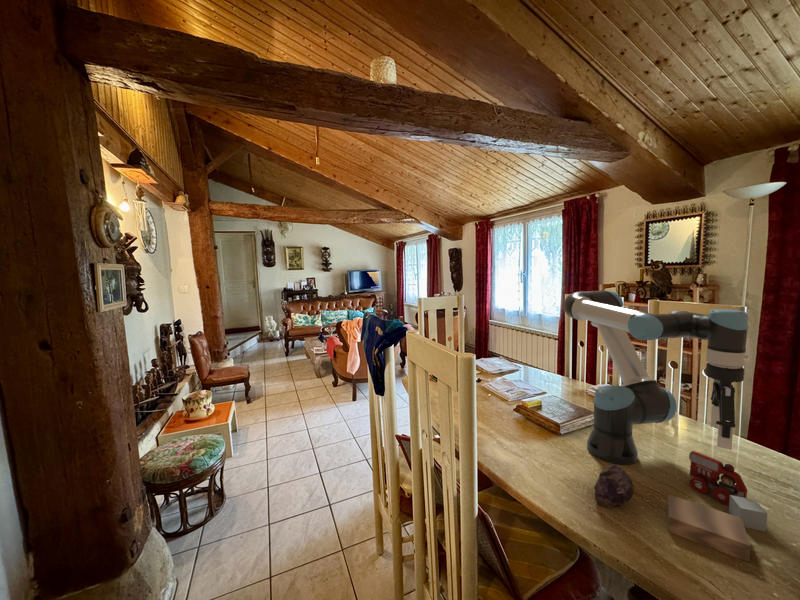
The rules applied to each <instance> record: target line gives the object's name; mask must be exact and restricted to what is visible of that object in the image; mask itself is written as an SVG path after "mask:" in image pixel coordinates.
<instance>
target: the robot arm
mask: <svg viewBox="0 0 800 600" xmlns="http://www.w3.org/2000/svg"><path fill="white" fill-rule="evenodd" d="M623 301H624V300H623V299H622V298H621V296H620V295H619V294H618V293H617V292H614V291H612V290H605V289H602V290H591V291H589V290H587V291H575V292H572V293H570V294H569V295H568V296H567V297H566V298H565V299H564V300H563V311H564V313H565V314H566V315H567V316H568V317H569V318H571V319H574V320H577V321H582V322H583V321H586V320H587V321H589V322H590V325H591V326H592V327H595V328H597V329H598V332H599V334H600V337H601V338H602V341H603V343H604V344H605V347H606V349H607V351H608V354H609V357H610V358H611V360H612V363H613V364H614V367H615V368H616V371H617V373H618V375H619V377H620V379H621V381H622V384H621V385H618V384H617V385H614V384H607V385H603V386H600V387H598V388H596V389H595V391H594V397H593V427H592V429H591V432H590V434H589V436H588V439H587V441H586V443H587V444H586V448H587V450H588V451H589V452H590V453H591V454H592V455H593V456H595V457H596V458H598V459H600V460H603V461H605V462H607V463H610V464H611V463H612V464H616V465H627V466H628V465H632V464H635V463H637V461H638V449H637V447H636V443H635V440H634V438H633V429H634V426H635V425H643V424H661V423H664V422H668V421H671V420H672V419H673V418H675V415H676V413H677V409H678V405H677V400H676V398H675V396H674V394H672V392H671V391H669V390H668V389H667V388H664V387H660V385H659V383H658V381H657V380H656V379H654V378H652V377H650V376H649V374H648V372H647V371H646V370H647V369H646V368H645V366H644V363H642V361H641V359H640V357H639V355H638V353H637V351H636V349H635V345H634V344H633V343H632V340H631V339H630V337H629V335H628V333H629V334H630V335H631V336H632V337H633V338H634V339H636V340H643V341H644V340H645V341H653V340H665V339H678V338H682V339H683V338H693V339H699V340H702V341H703V340H704V341H707V348H706V359H705V360H706V362H707V363H706V365H705V375H706V376H707V377H708V378H710V379H713V382H712V391H711V397H710V400H711V408H710V423H709V425H710V427H711V428H715V429H716V428H717V436H716V437H717V439H716V440H717V442H716V447H717V448H721V449H724V450H729V451H732V450H733V435H734V428H736V416H735V415H736V413H735V412H736V411H735V407H736V406H735V393H736V389H735V387H734V385H733V384H732V383H741V382H743V381H744V380H745V368H744V367H745V364H746V363H745V362H746V359H749V355H748V354H746V352H747V348H746V345H747V338H748V330H749V324H748V323H749V322H748V320H749V319H748V317H749V315H748V313H747V312H745V311H744V310H740V309H727V308H717V309H716V308H714V309H711V310H710V311H709V312H708V313H709V314H706V313H705V314H704V313H697V312H690V311H687V310H684V311H683V310H682V311H681V310H673V311H671V312H670V313H649V312H645V311H642V310H641V311H640V310H638V309H636V310H635V309H631V308H626V307H623V306H624V302H623Z"/></svg>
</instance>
